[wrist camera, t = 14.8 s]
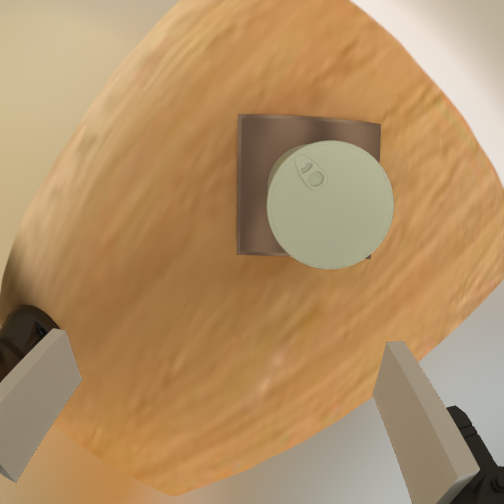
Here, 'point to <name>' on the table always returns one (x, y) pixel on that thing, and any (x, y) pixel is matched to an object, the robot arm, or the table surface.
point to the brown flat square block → (265, 156)
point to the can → (329, 204)
